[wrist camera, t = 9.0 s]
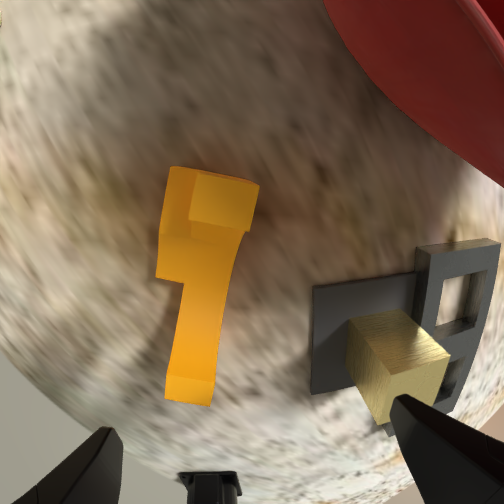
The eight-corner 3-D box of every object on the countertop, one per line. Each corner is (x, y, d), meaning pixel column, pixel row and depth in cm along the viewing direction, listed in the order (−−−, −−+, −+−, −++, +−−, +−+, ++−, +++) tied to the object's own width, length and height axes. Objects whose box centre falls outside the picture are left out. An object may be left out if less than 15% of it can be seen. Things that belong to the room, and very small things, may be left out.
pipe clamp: (180, 166, 17) (155, 165, 11) (249, 180, 18) (259, 186, 12) (155, 333, 20) (134, 391, 14) (213, 345, 21) (209, 406, 15)
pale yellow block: (392, 354, 22) (432, 405, 15) (344, 365, 22) (377, 425, 15) (399, 308, 21) (450, 355, 14) (349, 318, 21) (391, 375, 14)
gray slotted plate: (444, 401, 26) (452, 411, 24) (381, 424, 26) (388, 437, 24) (486, 237, 20) (500, 243, 19) (416, 247, 20) (431, 254, 18)
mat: (409, 367, 23) (411, 370, 23) (310, 392, 23) (311, 395, 23) (428, 269, 21) (430, 270, 20) (312, 286, 20) (314, 289, 20)
